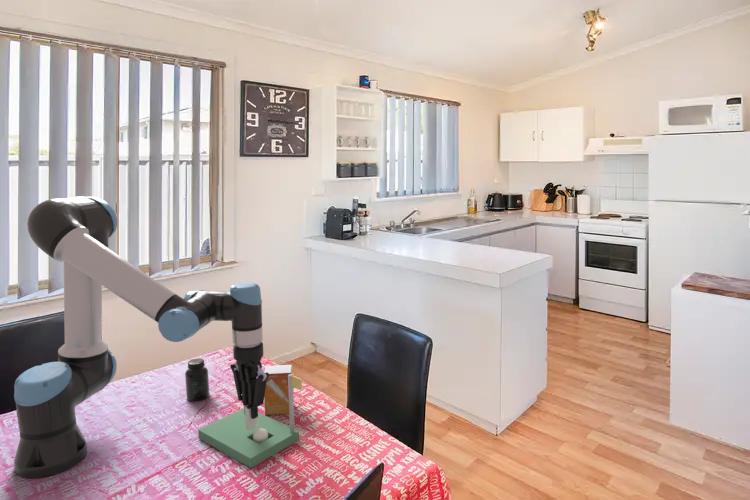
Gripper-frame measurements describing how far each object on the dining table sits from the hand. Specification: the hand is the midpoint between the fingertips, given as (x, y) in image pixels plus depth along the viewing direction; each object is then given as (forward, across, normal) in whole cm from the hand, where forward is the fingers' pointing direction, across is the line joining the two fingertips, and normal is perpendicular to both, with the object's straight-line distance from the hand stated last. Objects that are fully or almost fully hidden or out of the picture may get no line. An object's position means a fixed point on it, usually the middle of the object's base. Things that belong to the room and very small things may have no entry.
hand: (251, 427), depth 130 cm
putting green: (+4, 0, 0) cm, 4 cm away
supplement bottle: (+4, +34, -6) cm, 35 cm away
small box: (+4, +8, -16) cm, 18 cm away
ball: (+2, -3, 0) cm, 3 cm away
